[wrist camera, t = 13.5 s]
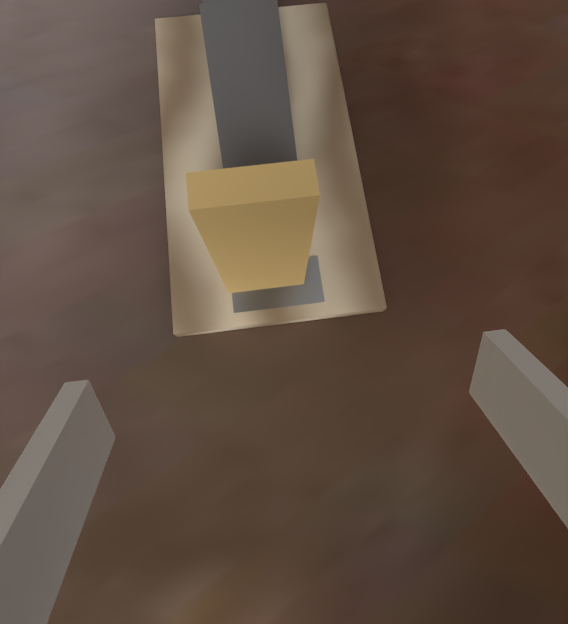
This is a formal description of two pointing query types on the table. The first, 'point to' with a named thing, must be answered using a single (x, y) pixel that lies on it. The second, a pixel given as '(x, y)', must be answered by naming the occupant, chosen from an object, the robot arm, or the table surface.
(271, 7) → the domino
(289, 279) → the ochre domino
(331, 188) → the birch board
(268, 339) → the table surface
